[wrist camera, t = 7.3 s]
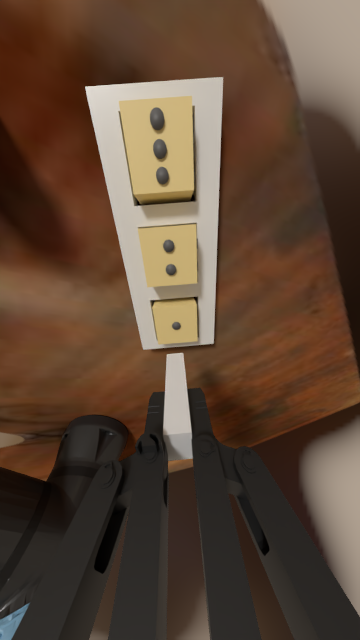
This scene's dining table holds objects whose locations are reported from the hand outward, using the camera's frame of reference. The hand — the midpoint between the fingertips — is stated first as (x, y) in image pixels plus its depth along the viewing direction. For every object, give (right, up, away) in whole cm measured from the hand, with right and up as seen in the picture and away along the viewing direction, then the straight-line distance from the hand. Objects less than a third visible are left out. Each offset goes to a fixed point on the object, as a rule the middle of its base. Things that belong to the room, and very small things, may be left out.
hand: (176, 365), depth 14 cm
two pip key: (-1, +13, +5) cm, 14 cm away
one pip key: (0, +5, +10) cm, 11 cm away
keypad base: (-1, +13, +7) cm, 15 cm away
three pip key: (-1, +21, +2) cm, 21 cm away
